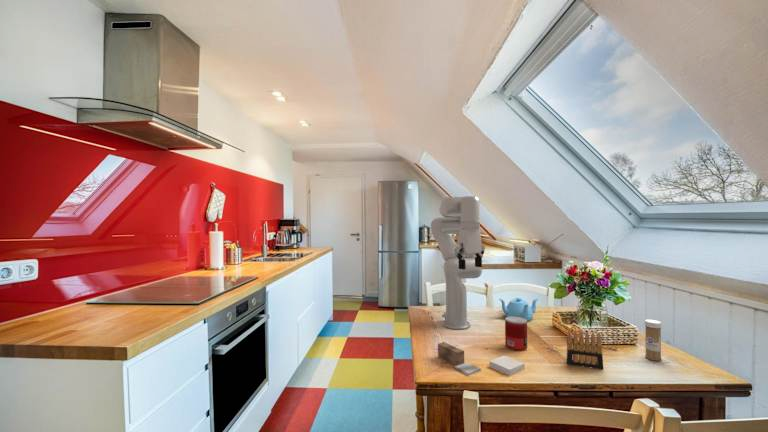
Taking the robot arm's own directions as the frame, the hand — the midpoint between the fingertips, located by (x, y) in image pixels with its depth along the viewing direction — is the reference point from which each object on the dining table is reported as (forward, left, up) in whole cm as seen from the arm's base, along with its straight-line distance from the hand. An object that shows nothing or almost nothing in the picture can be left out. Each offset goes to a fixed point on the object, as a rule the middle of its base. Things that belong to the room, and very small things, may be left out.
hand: (470, 267), depth 136 cm
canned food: (+14, +10, -31) cm, 35 cm away
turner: (+11, -20, -30) cm, 38 cm away
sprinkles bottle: (+48, +41, -31) cm, 70 cm away
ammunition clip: (+37, +15, -31) cm, 50 cm away
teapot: (-7, +43, -31) cm, 53 cm away
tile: (+19, -8, -29) cm, 36 cm away
